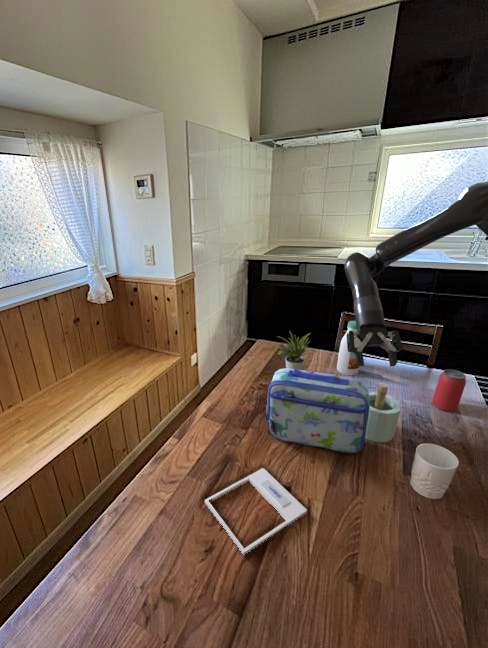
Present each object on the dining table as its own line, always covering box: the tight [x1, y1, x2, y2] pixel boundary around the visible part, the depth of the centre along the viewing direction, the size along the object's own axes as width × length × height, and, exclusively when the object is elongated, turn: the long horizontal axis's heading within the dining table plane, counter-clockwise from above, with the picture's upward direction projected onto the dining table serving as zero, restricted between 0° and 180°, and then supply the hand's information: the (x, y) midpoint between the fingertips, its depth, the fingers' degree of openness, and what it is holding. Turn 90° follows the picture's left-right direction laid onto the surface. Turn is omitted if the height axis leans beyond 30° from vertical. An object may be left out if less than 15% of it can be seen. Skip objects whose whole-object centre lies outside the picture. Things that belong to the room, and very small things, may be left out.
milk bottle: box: [336, 320, 363, 376], centre depth 125 cm, size 8×8×20 cm
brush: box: [374, 382, 389, 410], centre depth 95 cm, size 4×4×15 cm
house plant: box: [274, 330, 312, 370], centre depth 127 cm, size 14×14×16 cm
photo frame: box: [204, 467, 308, 557], centre depth 77 cm, size 15×1×18 cm
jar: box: [365, 391, 402, 443], centre depth 96 cm, size 10×10×10 cm
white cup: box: [409, 442, 460, 500], centre depth 78 cm, size 8×8×10 cm
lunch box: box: [265, 367, 370, 454], centre depth 93 cm, size 26×11×21 cm, turn 65°
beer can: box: [431, 368, 467, 412], centre depth 104 cm, size 7×7×12 cm
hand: (377, 365), depth 96 cm, fingers open, 8 cm apart
